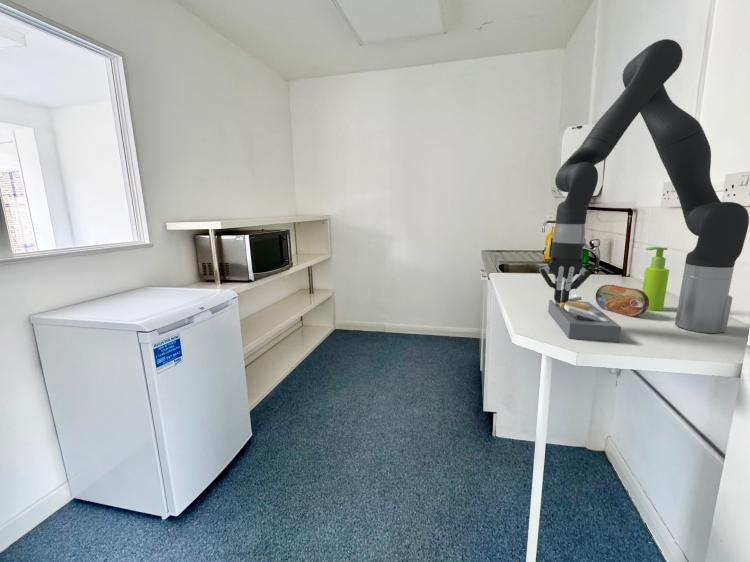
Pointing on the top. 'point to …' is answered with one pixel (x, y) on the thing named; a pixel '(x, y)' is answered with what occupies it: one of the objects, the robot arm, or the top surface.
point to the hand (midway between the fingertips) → (560, 302)
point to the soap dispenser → (656, 280)
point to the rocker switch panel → (585, 324)
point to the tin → (622, 300)
